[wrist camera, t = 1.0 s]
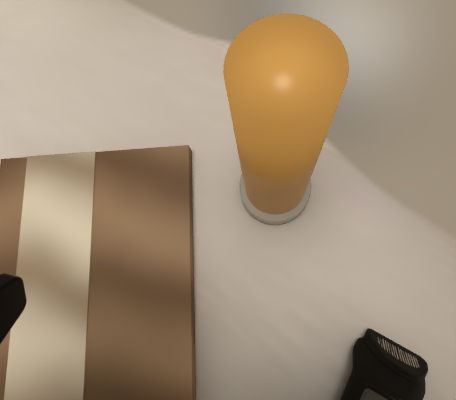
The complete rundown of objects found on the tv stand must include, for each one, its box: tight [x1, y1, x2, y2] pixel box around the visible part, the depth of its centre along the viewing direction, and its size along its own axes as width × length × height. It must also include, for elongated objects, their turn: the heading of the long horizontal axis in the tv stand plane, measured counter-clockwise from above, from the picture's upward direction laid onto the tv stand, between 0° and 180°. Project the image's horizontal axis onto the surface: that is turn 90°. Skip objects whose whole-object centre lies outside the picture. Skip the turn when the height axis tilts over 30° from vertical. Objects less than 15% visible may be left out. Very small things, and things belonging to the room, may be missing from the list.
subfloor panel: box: [0, 145, 196, 400], centre depth 22 cm, size 16×12×1 cm
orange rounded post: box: [224, 14, 349, 225], centre depth 17 cm, size 4×4×13 cm
